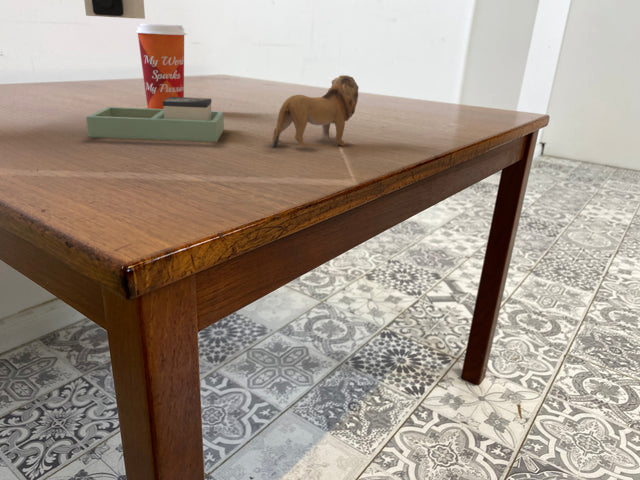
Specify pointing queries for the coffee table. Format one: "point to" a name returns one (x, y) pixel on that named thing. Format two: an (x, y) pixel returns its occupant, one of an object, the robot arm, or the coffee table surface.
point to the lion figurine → (319, 111)
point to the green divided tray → (152, 125)
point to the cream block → (131, 9)
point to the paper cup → (162, 62)
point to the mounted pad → (187, 108)
